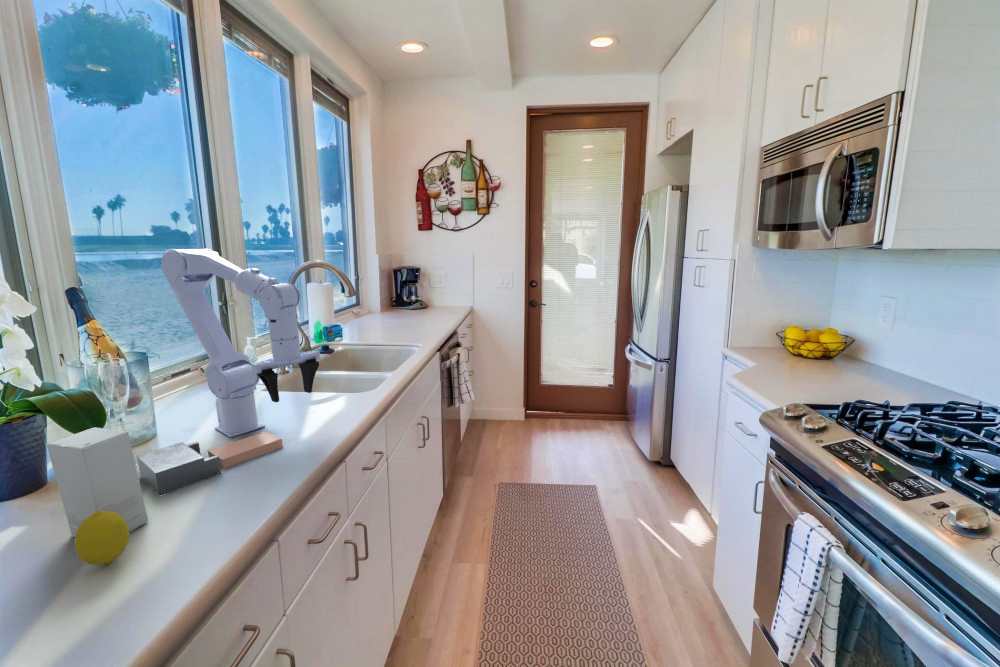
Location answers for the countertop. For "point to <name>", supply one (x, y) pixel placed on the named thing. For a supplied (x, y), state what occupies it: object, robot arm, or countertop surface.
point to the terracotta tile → (246, 448)
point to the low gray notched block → (176, 467)
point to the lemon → (101, 538)
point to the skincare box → (97, 476)
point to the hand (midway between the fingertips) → (292, 396)
